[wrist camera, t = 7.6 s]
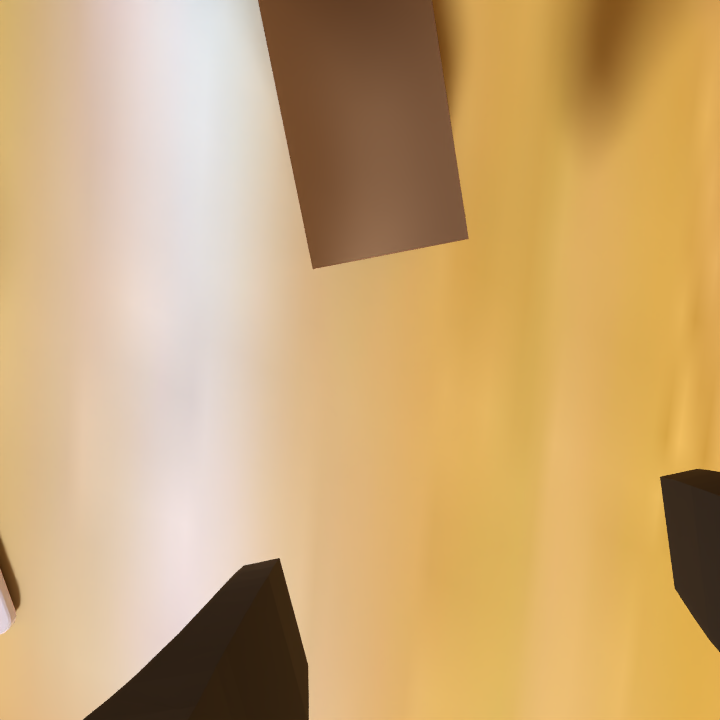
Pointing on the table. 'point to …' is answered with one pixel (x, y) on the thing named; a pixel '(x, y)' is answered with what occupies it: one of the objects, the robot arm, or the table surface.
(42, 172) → the table surface
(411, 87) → the tall brown box
